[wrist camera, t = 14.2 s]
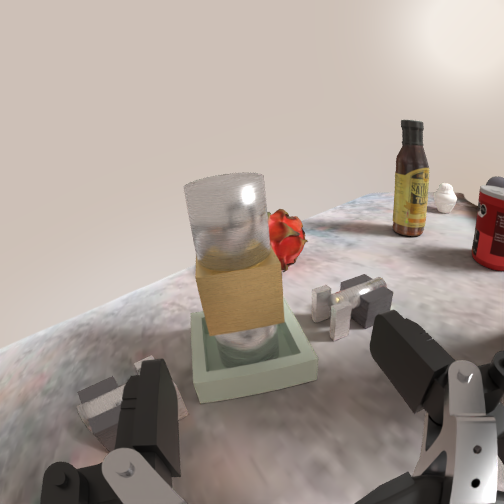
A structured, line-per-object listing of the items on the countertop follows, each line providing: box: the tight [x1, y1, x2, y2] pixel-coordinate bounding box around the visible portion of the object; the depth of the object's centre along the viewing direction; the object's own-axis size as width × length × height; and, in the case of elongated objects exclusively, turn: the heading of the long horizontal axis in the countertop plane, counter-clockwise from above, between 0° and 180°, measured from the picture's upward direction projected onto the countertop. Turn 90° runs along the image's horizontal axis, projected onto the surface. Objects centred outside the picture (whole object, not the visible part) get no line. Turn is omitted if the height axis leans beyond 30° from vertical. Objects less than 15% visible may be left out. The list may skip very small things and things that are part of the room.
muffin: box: [434, 183, 457, 213], centre depth 55 cm, size 6×6×7 cm
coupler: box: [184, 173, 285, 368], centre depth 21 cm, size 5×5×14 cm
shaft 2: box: [312, 274, 393, 341], centre depth 26 cm, size 7×4×3 cm, turn 111°
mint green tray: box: [191, 297, 318, 404], centre depth 23 cm, size 9×9×2 cm
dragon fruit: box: [267, 209, 307, 272], centre depth 38 cm, size 8×8×12 cm
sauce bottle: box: [393, 120, 429, 236], centre depth 43 cm, size 7×6×20 cm
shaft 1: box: [77, 355, 189, 452], centre depth 17 cm, size 7×4×3 cm, turn 131°
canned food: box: [472, 185, 504, 271], centre depth 31 cm, size 8×8×11 cm
